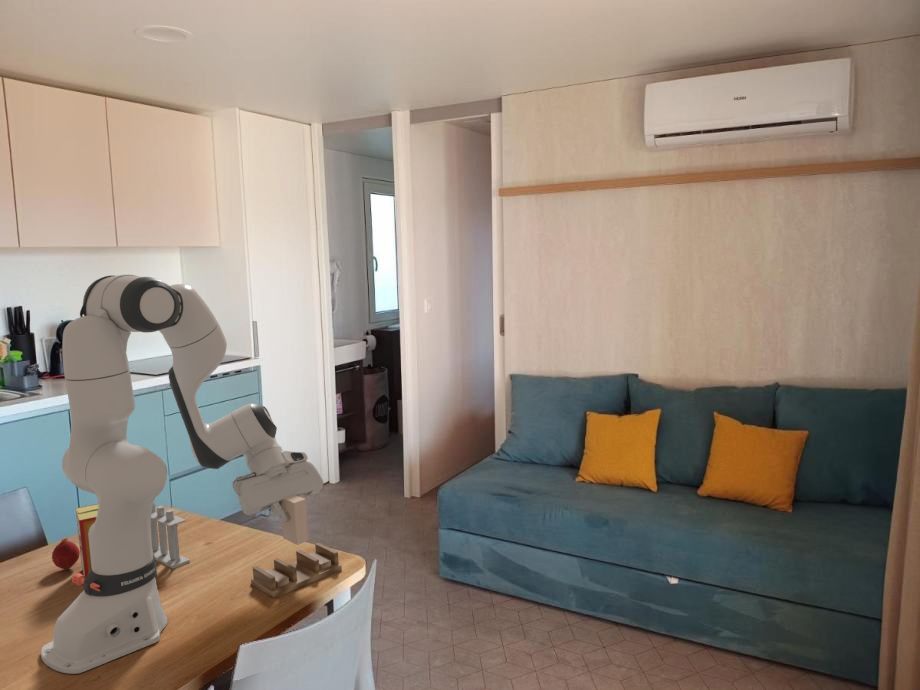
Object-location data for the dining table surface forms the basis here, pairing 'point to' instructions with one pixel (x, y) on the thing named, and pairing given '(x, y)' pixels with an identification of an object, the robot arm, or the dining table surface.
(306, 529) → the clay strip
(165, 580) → the dining table surface
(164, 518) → the test tube rack
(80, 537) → the baking soda box
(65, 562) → the onion
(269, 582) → the slotted holder block
